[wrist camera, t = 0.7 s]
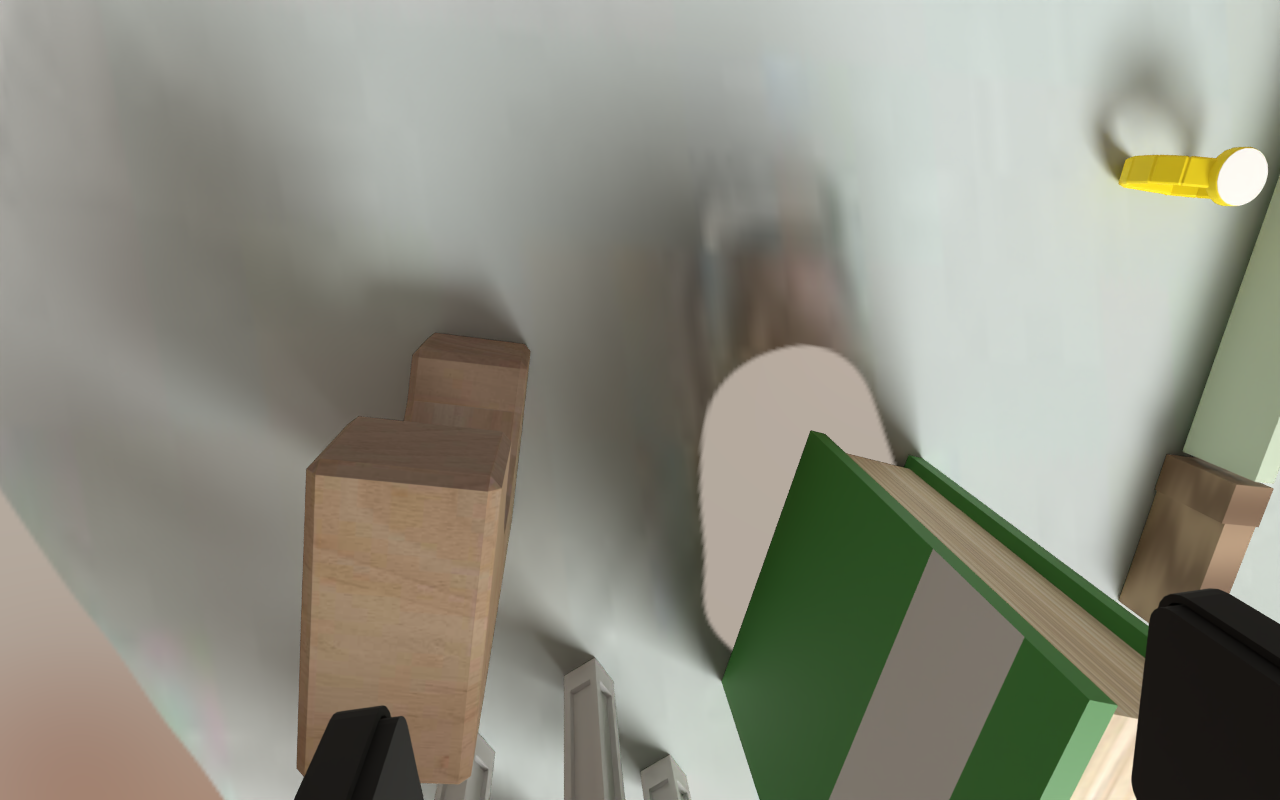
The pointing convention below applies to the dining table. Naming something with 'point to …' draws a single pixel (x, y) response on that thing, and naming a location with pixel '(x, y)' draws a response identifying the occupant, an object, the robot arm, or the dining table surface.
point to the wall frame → (1193, 532)
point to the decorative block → (414, 554)
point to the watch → (1200, 175)
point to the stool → (583, 750)
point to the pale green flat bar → (1247, 371)
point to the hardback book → (926, 650)
